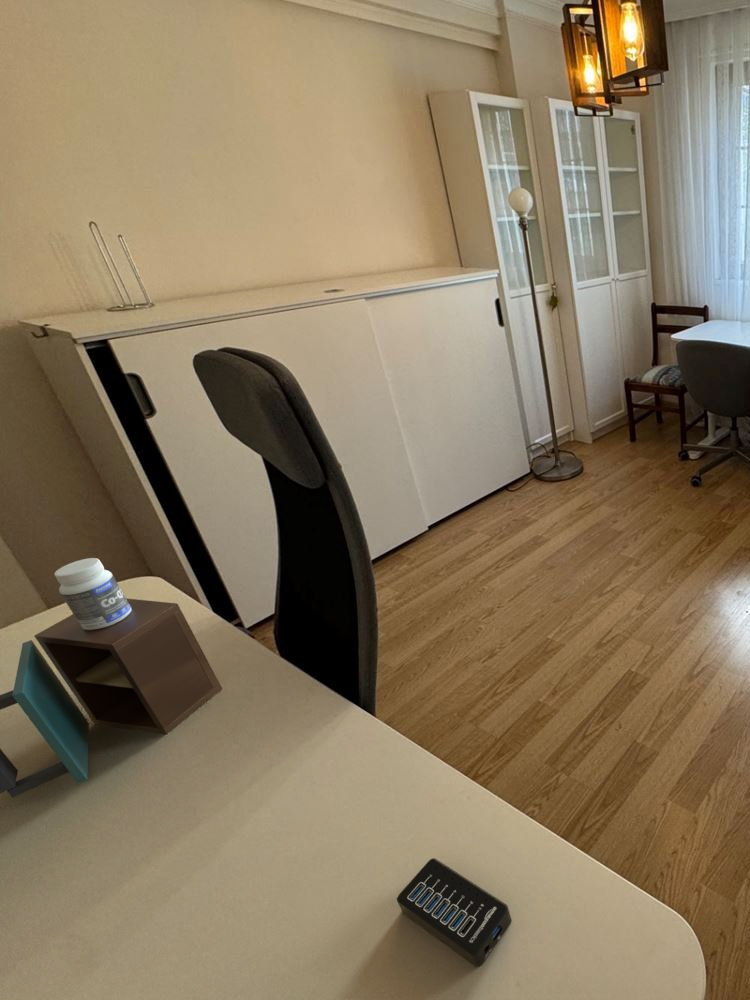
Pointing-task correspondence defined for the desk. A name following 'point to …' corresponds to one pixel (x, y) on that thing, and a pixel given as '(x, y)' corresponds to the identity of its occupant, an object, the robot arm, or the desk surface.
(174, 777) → the desk surface
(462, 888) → the multiport hub
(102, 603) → the pill bottle
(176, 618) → the cabinet
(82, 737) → the door
